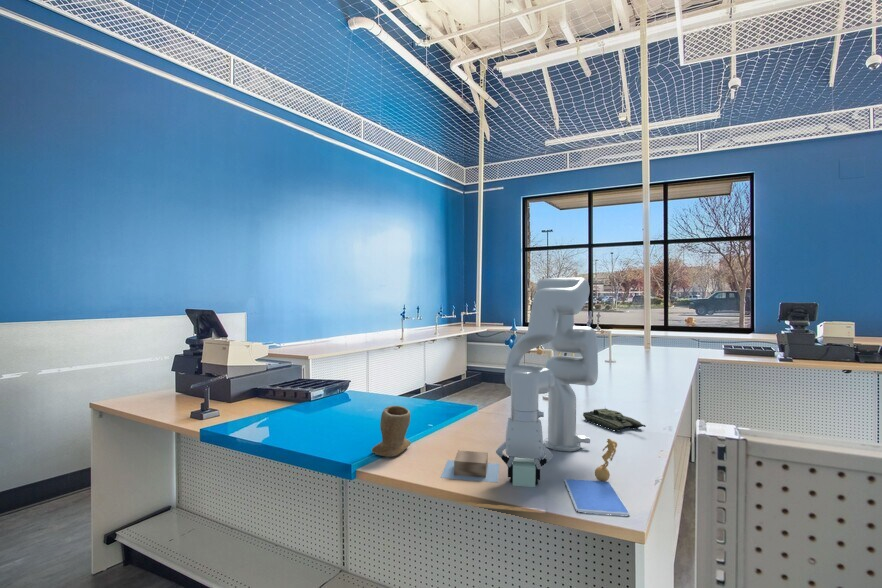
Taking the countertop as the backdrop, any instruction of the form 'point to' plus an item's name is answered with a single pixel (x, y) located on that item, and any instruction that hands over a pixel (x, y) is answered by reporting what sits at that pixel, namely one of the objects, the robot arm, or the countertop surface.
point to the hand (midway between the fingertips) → (523, 480)
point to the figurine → (602, 471)
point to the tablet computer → (595, 497)
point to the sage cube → (524, 472)
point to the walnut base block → (471, 464)
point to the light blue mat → (490, 476)
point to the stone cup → (393, 431)
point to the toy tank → (611, 419)
